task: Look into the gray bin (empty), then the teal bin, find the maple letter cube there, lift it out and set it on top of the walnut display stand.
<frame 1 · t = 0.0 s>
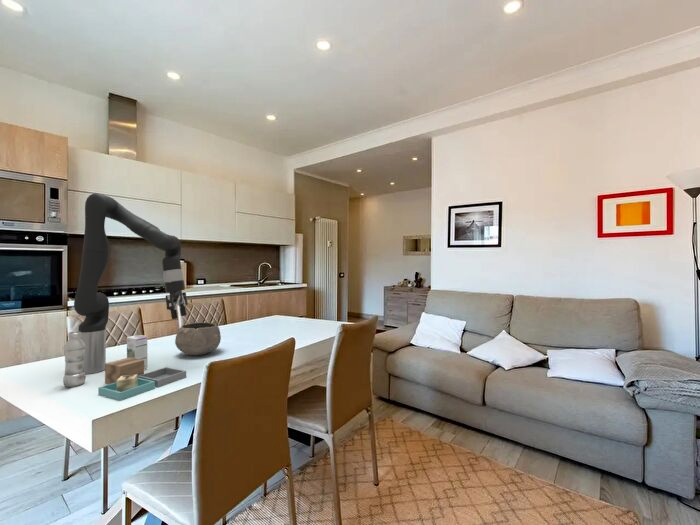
hand: (179, 317, 143), 22 cm above the table, tool pointing down, fingers open, 8 cm apart
gray bin: (162, 381, 127), on the table
clay pot: (198, 354, 167), on the table
plastic bottle: (74, 386, 122), on the table
syrup box: (137, 370, 142), on the table
letter cube: (127, 391, 116), resting on teal bin
teal bin: (127, 392, 116), on the table
walnut stand: (124, 382, 126), on the table
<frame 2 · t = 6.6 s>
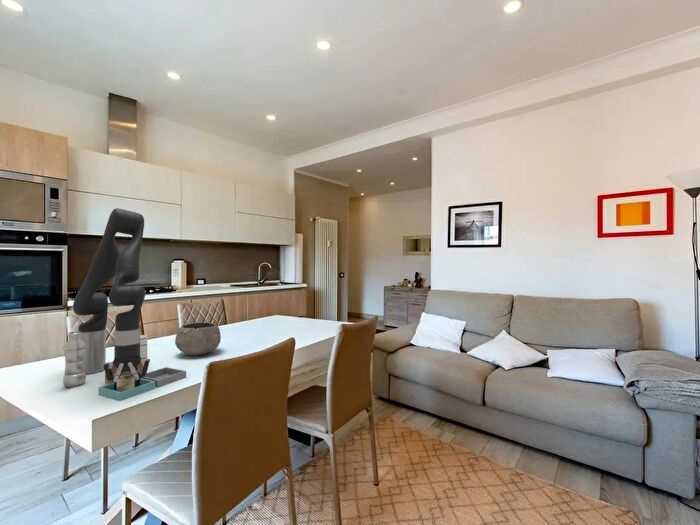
hand: (127, 390, 116), 1 cm above the table, tool pointing down, fingers closed on letter cube, 5 cm apart
letter cube: (127, 391, 116), point 1 cm above the table, touching gripper, teal bin
everything else where it was.
when the fingers open (10 cm above the table, at t = 11.2 s): letter cube drops 1 cm, resting on walnut stand.
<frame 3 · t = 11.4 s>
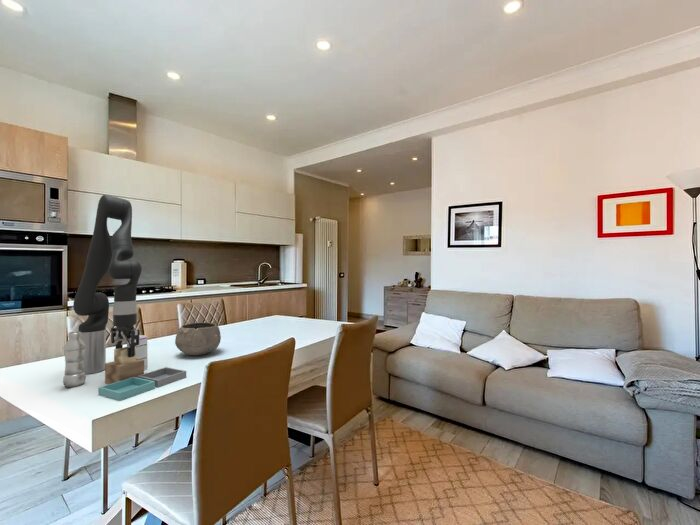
hand: (124, 355, 126), 10 cm above the table, tool pointing down, fingers open, 7 cm apart
letter cube: (125, 361, 126), point 8 cm above the table, touching walnut stand
everything else where it was.
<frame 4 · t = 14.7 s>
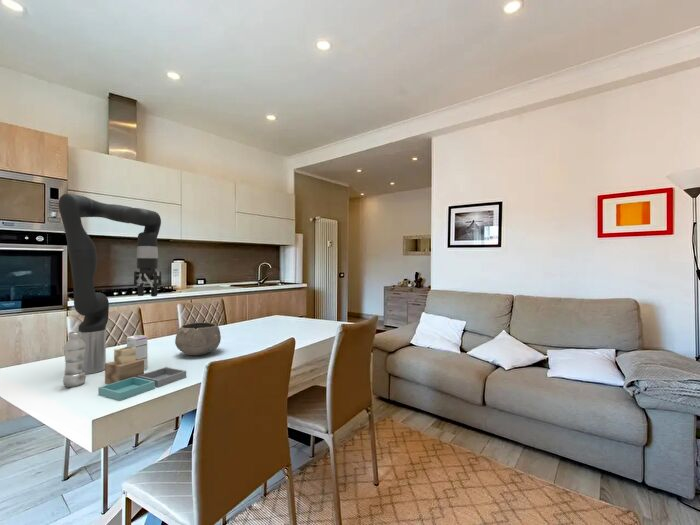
hand: (147, 296, 138), 32 cm above the table, tool pointing down, fingers open, 8 cm apart
nothing on the table moved.
at the end: letter cube 0.0 cm off-centre on the walnut stand, point 8.0 cm above the walnut stand's base; letter cube tilted 0°; the gripper is holding nothing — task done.
